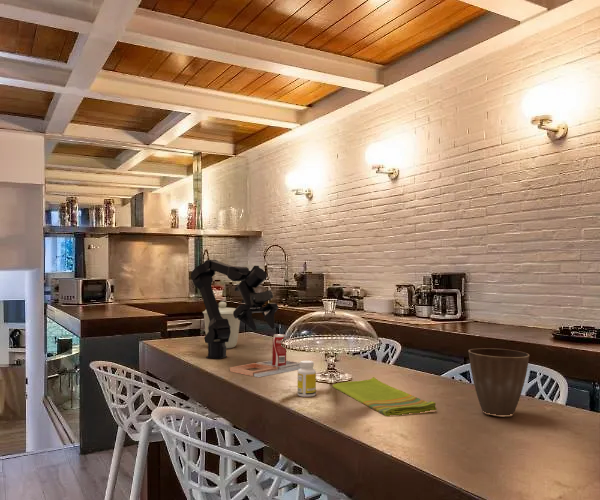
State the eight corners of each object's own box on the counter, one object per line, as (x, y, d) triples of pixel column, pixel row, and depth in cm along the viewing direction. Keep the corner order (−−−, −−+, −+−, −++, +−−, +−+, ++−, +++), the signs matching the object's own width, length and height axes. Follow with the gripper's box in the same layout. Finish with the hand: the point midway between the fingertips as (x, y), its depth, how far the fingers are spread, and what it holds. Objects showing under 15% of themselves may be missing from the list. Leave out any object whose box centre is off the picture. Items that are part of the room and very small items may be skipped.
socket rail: (258, 377, 187) (258, 372, 187) (229, 371, 197) (229, 367, 197) (306, 367, 205) (306, 363, 206) (278, 362, 215) (278, 359, 215)
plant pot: (501, 405, 153) (501, 347, 154) (542, 419, 139) (542, 355, 140) (456, 409, 148) (456, 349, 148) (494, 424, 134) (494, 358, 134)
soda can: (271, 365, 209) (272, 333, 209) (285, 365, 210) (286, 333, 210) (272, 368, 204) (272, 335, 204) (286, 368, 204) (286, 335, 205)
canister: (239, 350, 244) (239, 303, 245) (198, 350, 245) (199, 302, 245) (243, 345, 263) (244, 300, 263) (205, 344, 263) (206, 300, 263)
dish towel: (386, 419, 139) (386, 406, 139) (331, 389, 173) (331, 378, 173) (438, 414, 144) (438, 402, 145) (375, 385, 178) (375, 375, 178)
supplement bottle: (318, 393, 164) (318, 360, 164) (312, 398, 159) (312, 363, 159) (300, 392, 165) (301, 359, 166) (294, 396, 160) (295, 362, 161)
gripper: (241, 283, 202) (258, 319, 195) (278, 282, 215) (294, 316, 208) (225, 299, 208) (241, 335, 201) (262, 298, 221) (278, 331, 214)
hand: (264, 329), depth 206 cm, fingers open, 9 cm apart
